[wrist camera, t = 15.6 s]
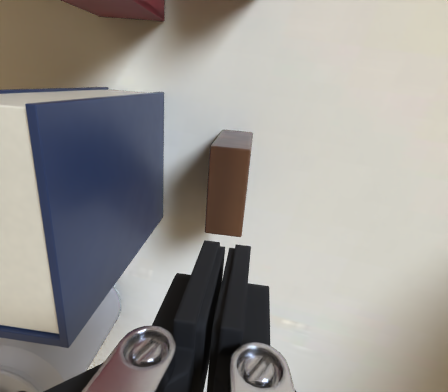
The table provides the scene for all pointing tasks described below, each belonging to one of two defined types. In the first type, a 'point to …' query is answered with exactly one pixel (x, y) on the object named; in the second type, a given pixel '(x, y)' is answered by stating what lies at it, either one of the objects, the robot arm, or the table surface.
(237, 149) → the walnut block
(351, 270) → the table surface
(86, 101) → the navy book
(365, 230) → the table surface
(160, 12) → the burgundy book
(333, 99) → the table surface
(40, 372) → the can
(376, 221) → the table surface
